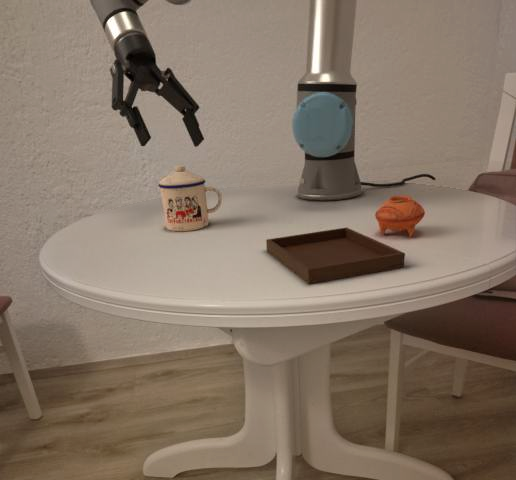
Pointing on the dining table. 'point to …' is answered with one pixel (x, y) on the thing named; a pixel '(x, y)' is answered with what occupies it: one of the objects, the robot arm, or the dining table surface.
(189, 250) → the dining table surface
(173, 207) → the teacup with lid
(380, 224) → the pot
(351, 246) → the shallow tray
